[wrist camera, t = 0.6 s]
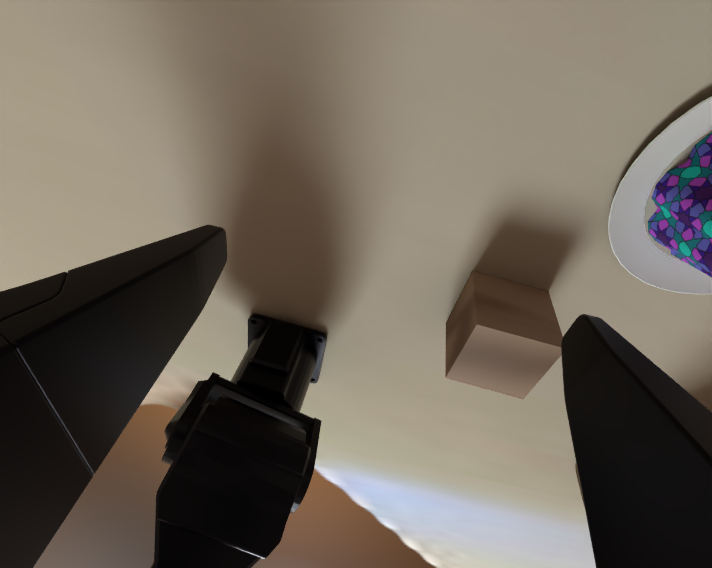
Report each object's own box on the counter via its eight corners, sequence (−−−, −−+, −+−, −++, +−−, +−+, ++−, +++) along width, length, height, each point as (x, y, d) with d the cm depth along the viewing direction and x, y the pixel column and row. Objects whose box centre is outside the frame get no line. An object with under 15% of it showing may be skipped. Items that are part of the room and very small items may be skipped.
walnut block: (512, 340, 28) (522, 399, 24) (446, 322, 28) (445, 377, 24) (548, 290, 24) (566, 349, 21) (472, 270, 24) (476, 324, 21)
